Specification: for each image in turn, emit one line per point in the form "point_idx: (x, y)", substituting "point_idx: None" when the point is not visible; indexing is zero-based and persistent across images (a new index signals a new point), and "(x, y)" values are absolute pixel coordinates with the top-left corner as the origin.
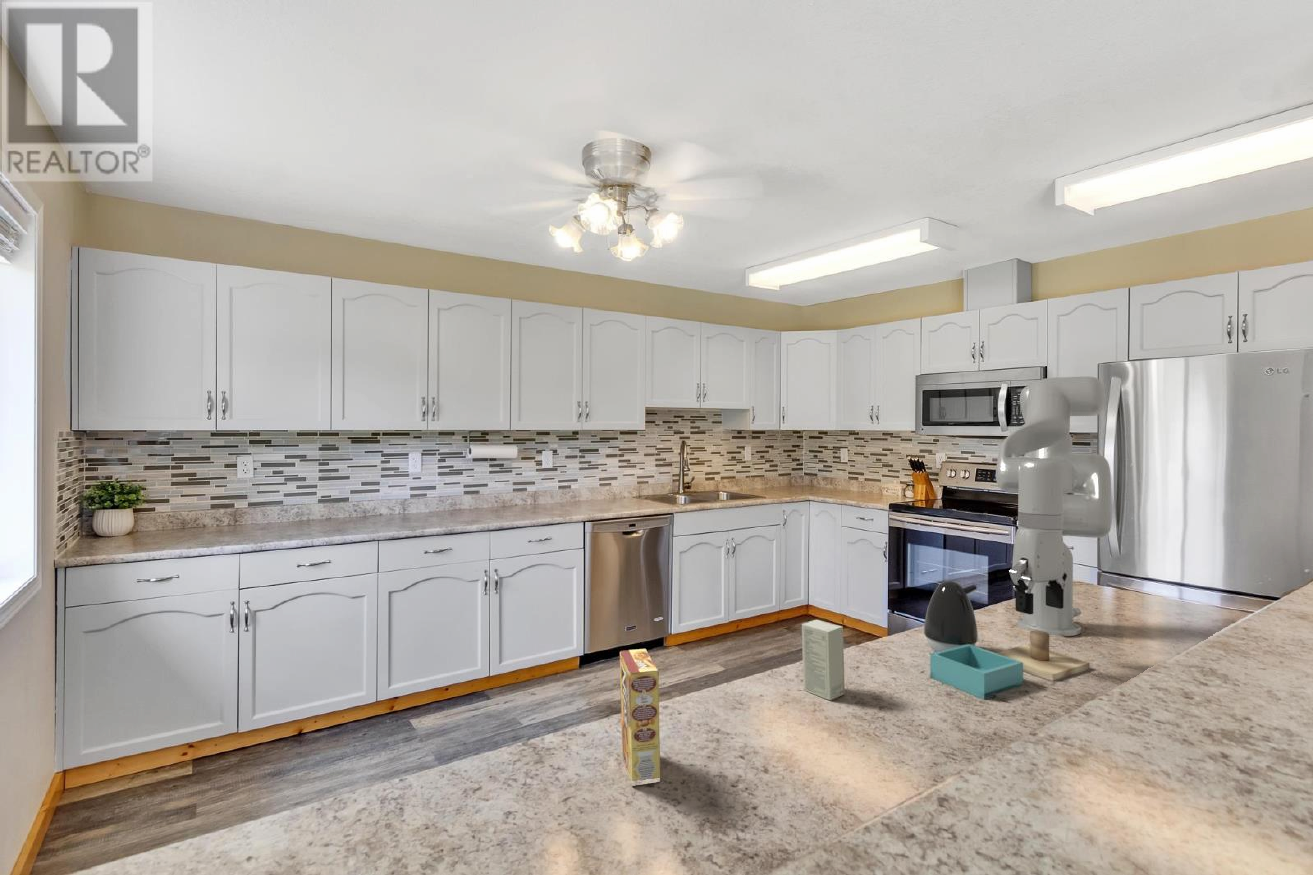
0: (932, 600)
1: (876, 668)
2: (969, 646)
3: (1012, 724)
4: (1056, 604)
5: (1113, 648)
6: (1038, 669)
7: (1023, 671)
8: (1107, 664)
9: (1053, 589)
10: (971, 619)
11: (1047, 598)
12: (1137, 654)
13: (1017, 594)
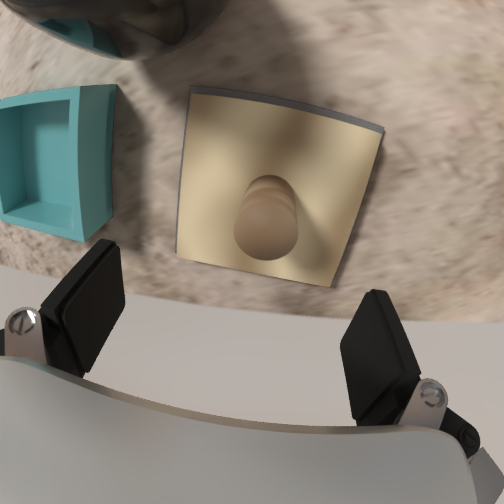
0: None
1: (6, 29)
2: (70, 99)
3: (20, 257)
4: (349, 341)
5: (493, 267)
6: (179, 226)
7: (180, 186)
8: (397, 285)
9: (369, 395)
10: (97, 42)
11: (375, 322)
12: (476, 300)
13: (41, 308)
